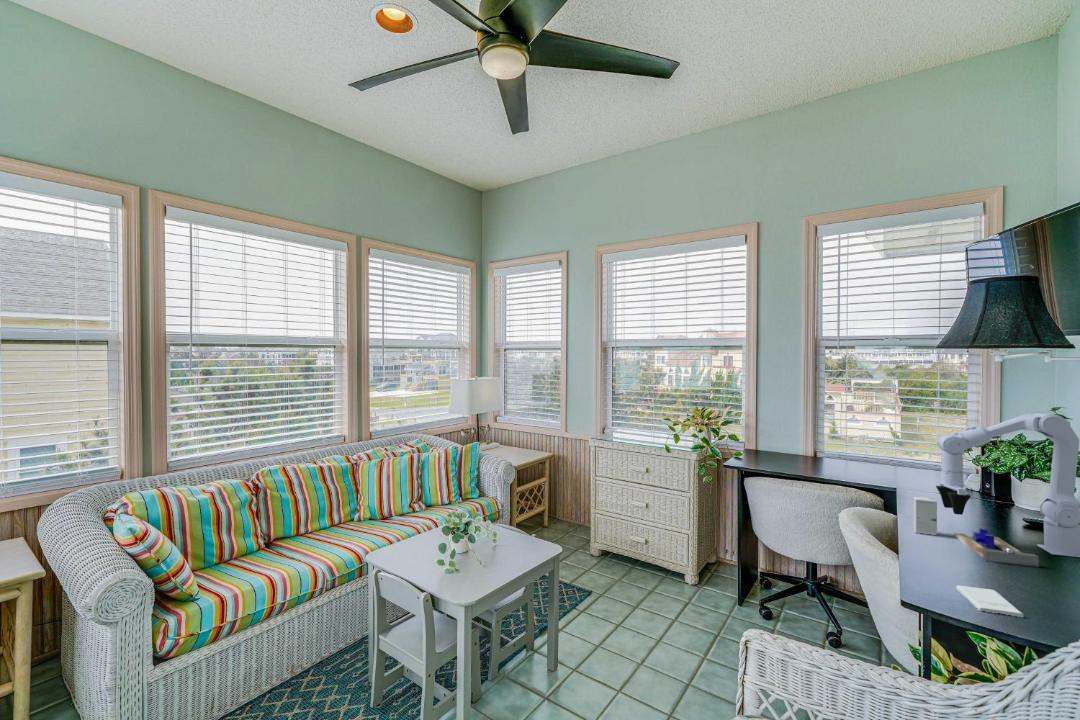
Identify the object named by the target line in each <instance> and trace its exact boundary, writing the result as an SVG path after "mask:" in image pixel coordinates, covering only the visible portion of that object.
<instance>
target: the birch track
mask: <svg viewBox="0 0 1080 720" xmlns="http://www.w3.org/2000/svg"><path fill="white" fill-rule="evenodd" d="M953 537H955V538H956V539H957V538H958V540H959V541H960V542H961V543H962V544H964V545H965V546H966V545H967V546H966V547H968V548H969V549H971V551H973V552H974V553H976V554H977V555H978V556H979V557H981V558H982V559H983V549H986V547H983V546H982V545H981V544H979V543H978V542H976V541H975V540H974V539H972V538H971V537H969V536H968V535H967V534H965V533H962V532H961V533H959V532H954V533H953ZM994 546H996V547H998V548H999V549H1001V551H1006V550H1005V548H1006V547H1008V548H1013V549H1015V552H1018V553H1023V552H1022V551H1020V550H1019V549H1017V548H1015V547H1014V546H1012V545H1011V544H1009V543H1008V542H1006V541H1005V540H1003V539H1001V538H1000V537H998V536H994Z"/></svg>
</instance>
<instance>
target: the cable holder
mask: <svg viewBox="0 0 1080 720" xmlns="http://www.w3.org/2000/svg"><path fill="white" fill-rule="evenodd" d="M972 537H973V538H974V539H975V540H976V541H975V540H974V539H973V540H974V541H975V542H976V543H978V542H981V543H980V544H982V545H983V546H984V547H985V548H990V549H995V544H994V537H995V536H994V534H989V529H987V528H981V527H979V528H978V531H977V532H976V531H973V532H972Z"/></svg>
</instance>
